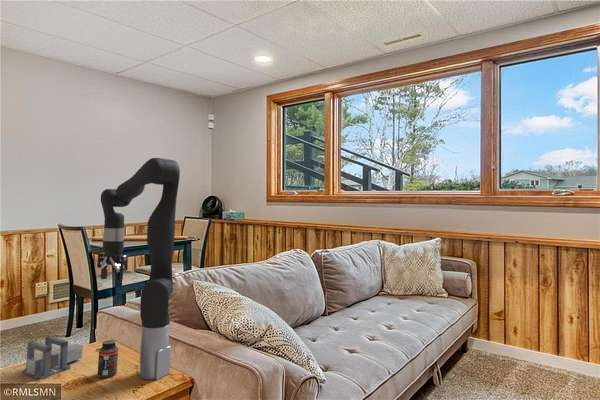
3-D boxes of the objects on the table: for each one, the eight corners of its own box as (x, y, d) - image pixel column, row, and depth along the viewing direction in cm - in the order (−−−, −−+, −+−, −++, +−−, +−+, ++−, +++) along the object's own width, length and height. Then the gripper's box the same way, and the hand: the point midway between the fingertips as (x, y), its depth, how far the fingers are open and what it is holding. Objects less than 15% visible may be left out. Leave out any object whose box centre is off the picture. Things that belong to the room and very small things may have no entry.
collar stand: (51, 362, 138) (53, 335, 138) (69, 368, 134) (71, 340, 134) (22, 373, 128) (23, 343, 129) (40, 380, 124) (42, 349, 125)
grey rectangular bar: (82, 357, 141) (82, 345, 141) (34, 375, 125) (35, 360, 125) (74, 355, 142) (75, 343, 143) (26, 372, 127) (27, 358, 127)
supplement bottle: (108, 379, 127) (110, 345, 127) (93, 377, 128) (95, 343, 128) (120, 372, 132) (122, 339, 133) (105, 370, 134) (107, 337, 134)
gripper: (92, 238, 150) (90, 279, 150) (118, 241, 144) (116, 284, 144) (109, 237, 157) (107, 276, 157) (134, 240, 151) (132, 280, 151)
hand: (111, 280), depth 150 cm, fingers open, 8 cm apart
